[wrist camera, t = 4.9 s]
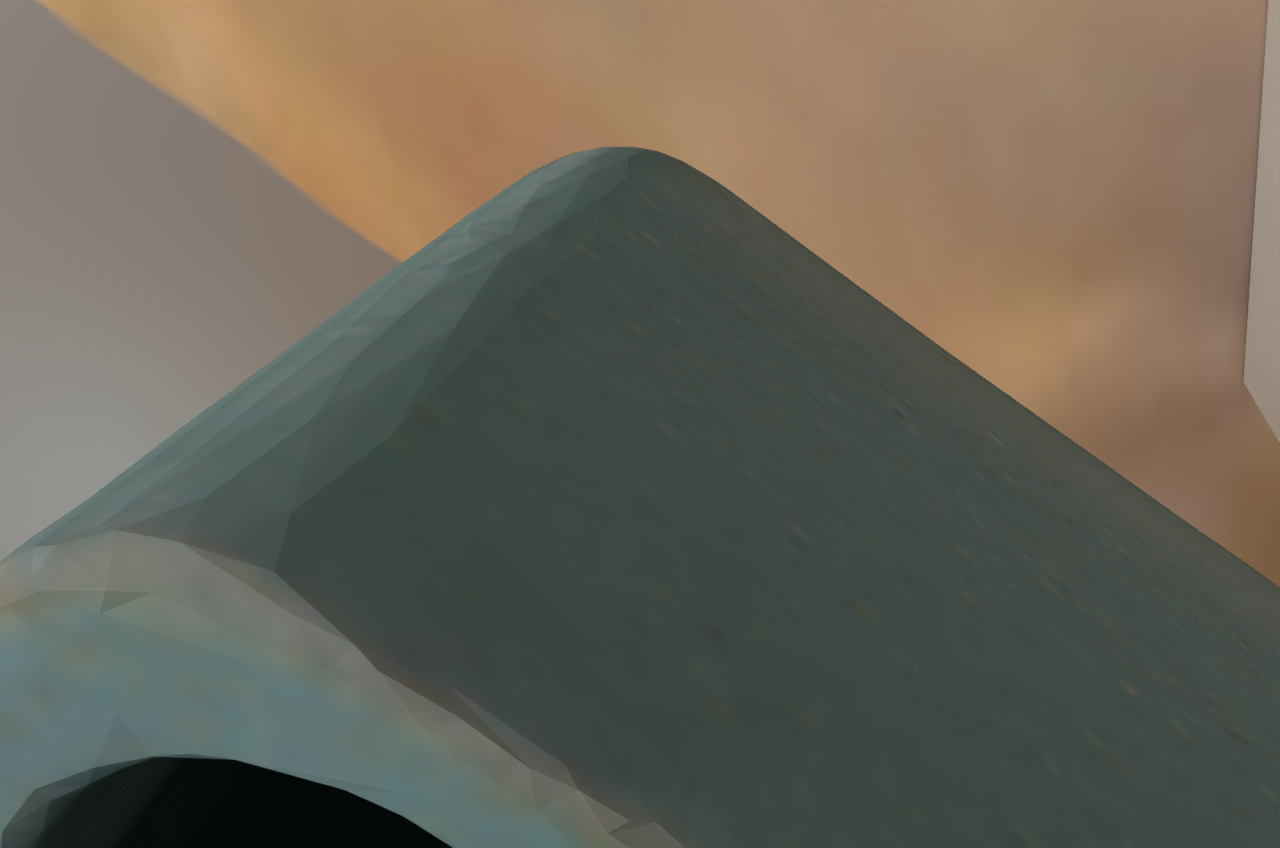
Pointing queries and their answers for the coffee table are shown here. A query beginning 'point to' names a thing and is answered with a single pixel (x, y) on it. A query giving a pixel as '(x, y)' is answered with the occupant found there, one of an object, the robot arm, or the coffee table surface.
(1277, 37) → the stone slab
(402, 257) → the coffee table surface
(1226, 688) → the flower pot
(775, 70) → the coffee table surface
